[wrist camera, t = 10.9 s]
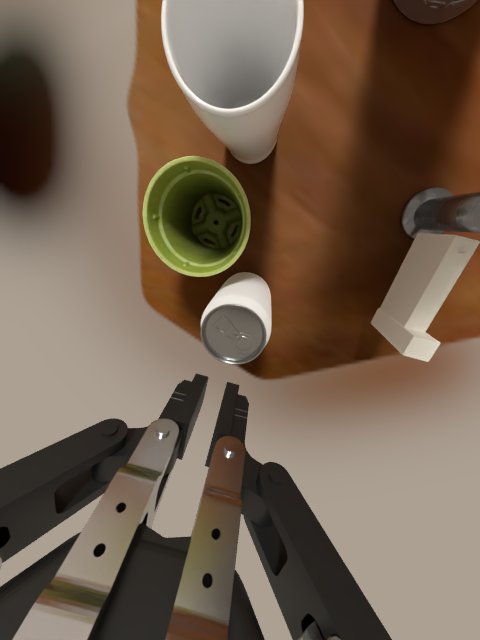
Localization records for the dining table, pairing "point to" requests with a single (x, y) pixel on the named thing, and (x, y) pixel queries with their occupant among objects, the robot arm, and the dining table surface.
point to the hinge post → (441, 212)
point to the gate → (422, 291)
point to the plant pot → (180, 216)
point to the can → (238, 319)
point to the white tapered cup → (235, 66)
